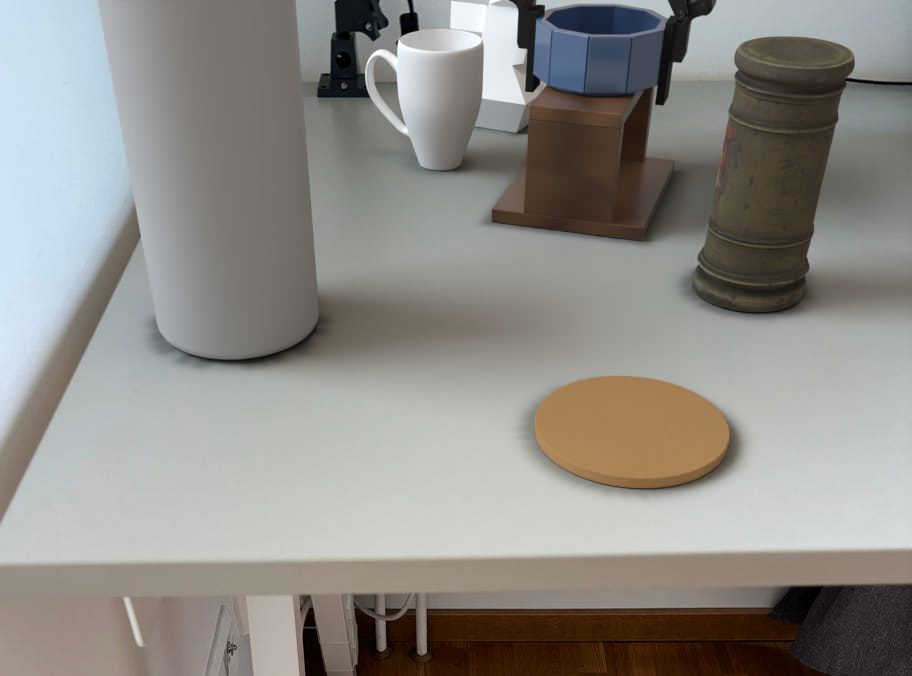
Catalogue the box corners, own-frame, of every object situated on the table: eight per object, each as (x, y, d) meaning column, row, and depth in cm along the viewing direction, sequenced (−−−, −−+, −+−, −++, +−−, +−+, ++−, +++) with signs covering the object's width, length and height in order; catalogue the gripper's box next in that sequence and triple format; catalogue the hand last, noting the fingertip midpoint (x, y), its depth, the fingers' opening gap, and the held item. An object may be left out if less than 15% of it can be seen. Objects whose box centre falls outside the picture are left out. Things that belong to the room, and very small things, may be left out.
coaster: (738, 402, 77) (740, 392, 76) (714, 504, 68) (716, 494, 67) (558, 373, 80) (559, 363, 79) (512, 467, 71) (512, 457, 70)
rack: (673, 172, 110) (690, 59, 103) (641, 241, 97) (658, 117, 90) (539, 156, 113) (546, 46, 106) (491, 221, 100) (495, 101, 93)
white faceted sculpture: (544, 141, 116) (554, -5, 107) (427, 122, 121) (427, -20, 112) (572, 118, 122) (584, -23, 113) (459, 100, 127) (461, -36, 117)
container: (823, 289, 90) (884, 49, 78) (764, 325, 85) (820, 75, 73) (730, 257, 95) (775, 26, 82) (669, 289, 90) (707, 49, 78)
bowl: (670, 67, 101) (678, 8, 98) (648, 104, 93) (655, 42, 89) (552, 56, 103) (556, -1, 100) (520, 92, 95) (524, 31, 92)
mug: (491, 155, 113) (495, 33, 106) (465, 182, 108) (467, 55, 100) (384, 141, 116) (381, 21, 109) (353, 167, 111) (347, 43, 103)
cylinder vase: (308, 366, 80) (275, -22, 63) (141, 362, 81) (64, -24, 64) (329, 291, 90) (304, -65, 73) (179, 288, 90) (120, -67, 73)
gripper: (465, -211, 84) (460, 93, 99) (777, -200, 79) (722, 120, 94) (491, -220, 89) (483, 70, 104) (786, -210, 84) (732, 94, 99)
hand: (596, 94), depth 99 cm, fingers closed on bowl, 11 cm apart
